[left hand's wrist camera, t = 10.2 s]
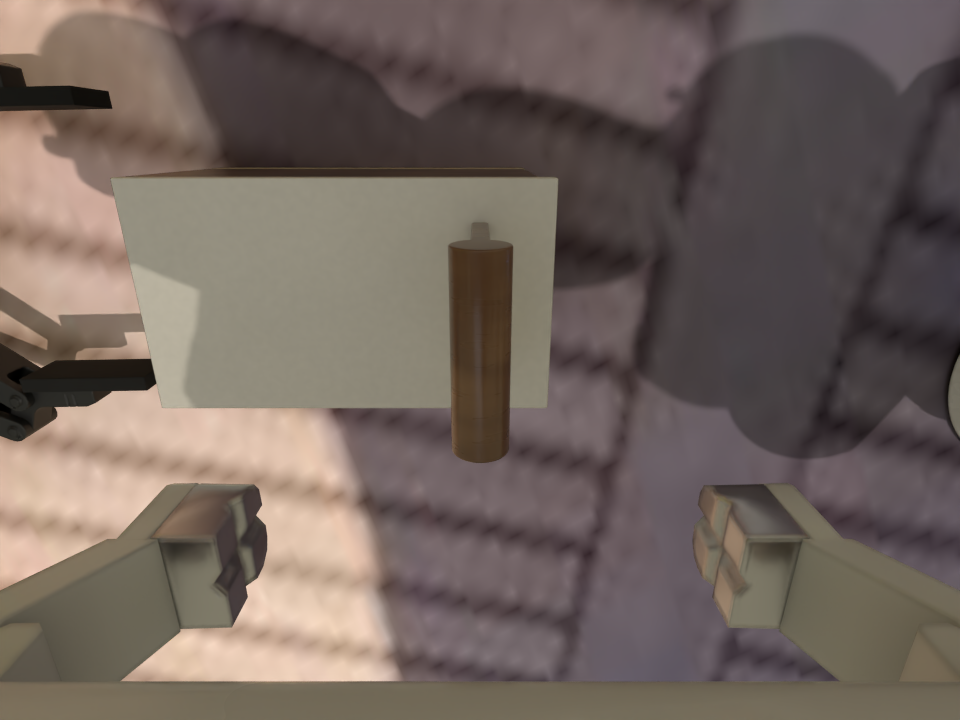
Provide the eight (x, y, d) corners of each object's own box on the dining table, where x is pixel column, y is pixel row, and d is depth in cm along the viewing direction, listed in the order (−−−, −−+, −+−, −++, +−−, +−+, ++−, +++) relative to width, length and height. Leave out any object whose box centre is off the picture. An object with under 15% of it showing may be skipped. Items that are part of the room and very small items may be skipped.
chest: (522, 167, 32) (539, 176, 23) (518, 336, 36) (531, 400, 27) (221, 167, 32) (122, 176, 23) (248, 336, 36) (171, 400, 27)
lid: (555, 176, 23) (594, 192, 15) (545, 400, 27) (572, 503, 19) (122, 176, 23) (-57, 192, 15) (171, 400, 27) (47, 504, 19)
